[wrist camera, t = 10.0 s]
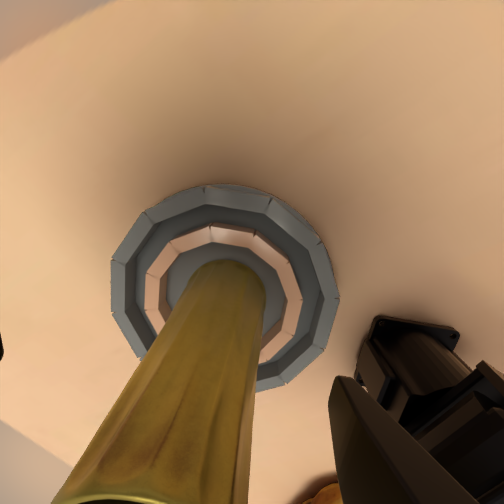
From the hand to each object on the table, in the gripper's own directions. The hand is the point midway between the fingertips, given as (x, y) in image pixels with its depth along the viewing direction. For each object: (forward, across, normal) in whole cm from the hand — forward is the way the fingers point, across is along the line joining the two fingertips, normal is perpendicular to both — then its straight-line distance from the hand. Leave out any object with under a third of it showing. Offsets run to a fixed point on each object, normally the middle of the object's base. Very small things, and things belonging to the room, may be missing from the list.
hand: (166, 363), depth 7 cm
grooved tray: (+13, 0, +4) cm, 14 cm away
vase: (+12, 0, +4) cm, 13 cm away
